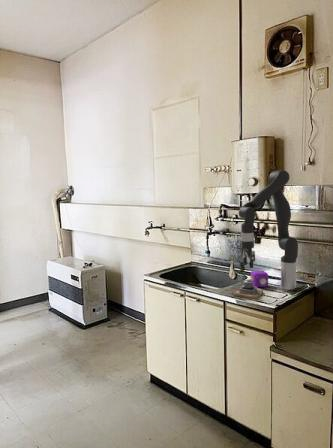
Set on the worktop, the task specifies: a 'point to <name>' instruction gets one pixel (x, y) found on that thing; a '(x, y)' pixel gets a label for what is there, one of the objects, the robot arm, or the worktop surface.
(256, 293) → the lens mount
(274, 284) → the worktop surface
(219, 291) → the worktop surface
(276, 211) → the robot arm
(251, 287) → the lens
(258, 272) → the toy camera
